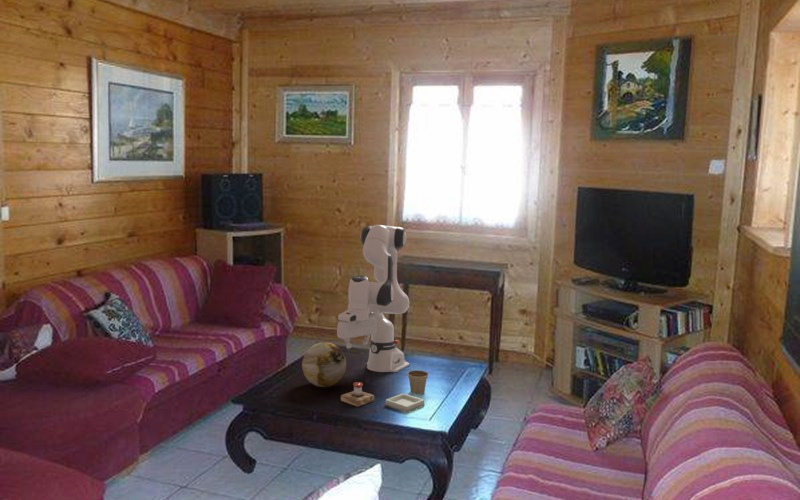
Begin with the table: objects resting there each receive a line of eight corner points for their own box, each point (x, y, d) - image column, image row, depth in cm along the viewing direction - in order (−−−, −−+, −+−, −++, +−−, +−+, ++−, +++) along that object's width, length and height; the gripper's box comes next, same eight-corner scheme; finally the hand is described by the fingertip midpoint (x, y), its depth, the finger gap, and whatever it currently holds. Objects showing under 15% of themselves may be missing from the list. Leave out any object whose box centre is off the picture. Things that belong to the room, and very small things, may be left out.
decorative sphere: (338, 395, 295) (339, 350, 292) (295, 390, 299) (296, 346, 296) (350, 381, 314) (351, 339, 312) (310, 377, 318) (310, 335, 315)
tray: (403, 398, 293) (403, 393, 293) (424, 405, 285) (424, 399, 285) (385, 405, 284) (385, 399, 284) (406, 412, 277) (406, 406, 276)
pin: (357, 398, 292) (357, 381, 291) (364, 400, 289) (364, 383, 288) (350, 400, 289) (350, 383, 288) (357, 403, 286) (358, 386, 285)
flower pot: (413, 396, 296) (413, 377, 295) (403, 390, 304) (403, 371, 303) (431, 394, 300) (432, 375, 299) (421, 387, 308) (422, 369, 307)
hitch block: (357, 395, 296) (357, 389, 295) (374, 400, 289) (374, 395, 289) (340, 400, 288) (340, 395, 288) (357, 406, 282) (357, 401, 281)
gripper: (370, 310, 295) (369, 341, 296) (335, 316, 280) (334, 348, 282) (380, 312, 291) (379, 344, 292) (345, 318, 276) (344, 351, 277)
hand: (357, 346), depth 287 cm, fingers open, 8 cm apart
